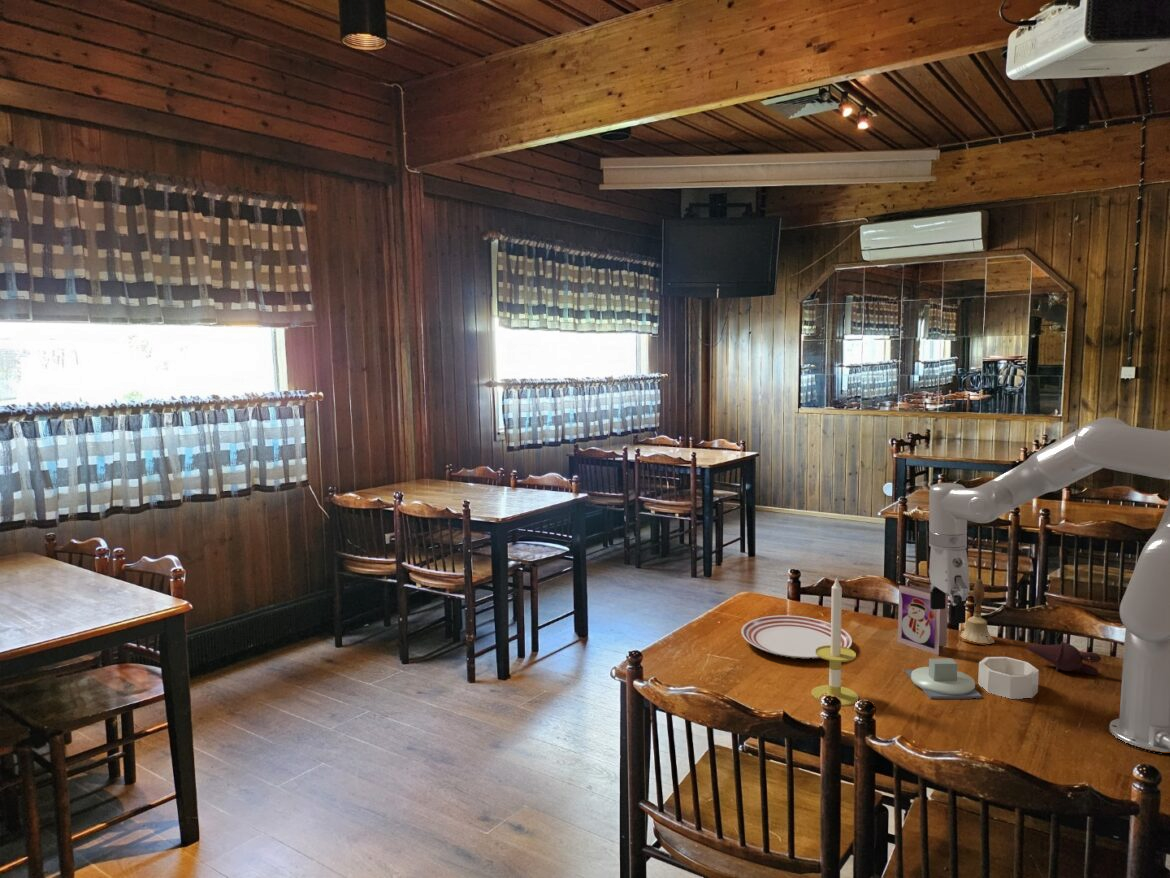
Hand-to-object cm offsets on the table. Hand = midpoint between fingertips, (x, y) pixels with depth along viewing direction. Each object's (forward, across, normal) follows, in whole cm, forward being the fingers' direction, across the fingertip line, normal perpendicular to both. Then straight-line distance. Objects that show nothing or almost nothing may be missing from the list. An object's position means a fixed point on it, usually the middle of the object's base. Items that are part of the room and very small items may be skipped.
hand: (947, 615), depth 174 cm
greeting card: (+16, +24, -5) cm, 29 cm away
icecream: (+17, +8, -30) cm, 36 cm away
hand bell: (+16, +28, -20) cm, 38 cm away
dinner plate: (+16, +26, +27) cm, 41 cm away
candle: (+16, -4, +26) cm, 31 cm away
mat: (+16, +1, +1) cm, 16 cm away
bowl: (+16, -1, -13) cm, 21 cm away
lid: (+16, +1, +1) cm, 16 cm away
